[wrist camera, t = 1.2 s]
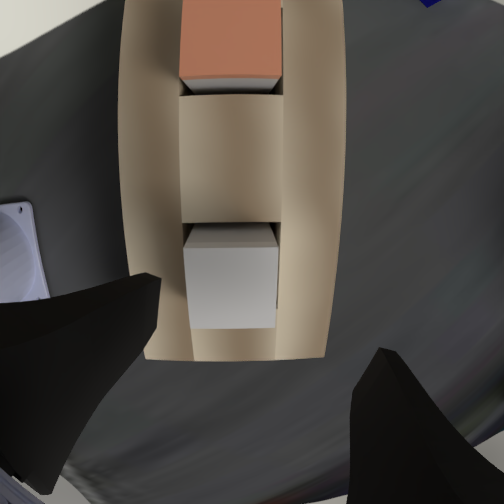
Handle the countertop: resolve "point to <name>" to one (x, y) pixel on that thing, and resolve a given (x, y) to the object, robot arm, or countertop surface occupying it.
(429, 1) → the blue angular block
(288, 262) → the button block
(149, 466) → the countertop surface
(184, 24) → the orange block
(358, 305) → the countertop surface
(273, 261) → the matte grey cube
